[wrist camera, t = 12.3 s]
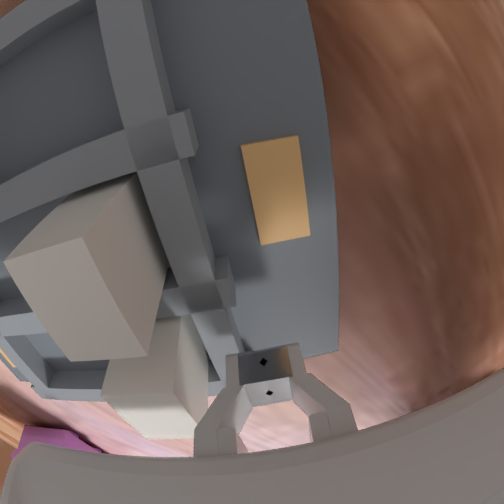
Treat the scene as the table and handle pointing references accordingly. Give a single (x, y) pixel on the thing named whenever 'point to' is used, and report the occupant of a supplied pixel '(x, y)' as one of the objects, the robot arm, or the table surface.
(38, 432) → the teapot
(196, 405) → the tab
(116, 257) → the tab mid
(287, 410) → the table surface
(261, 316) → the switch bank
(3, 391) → the table surface
